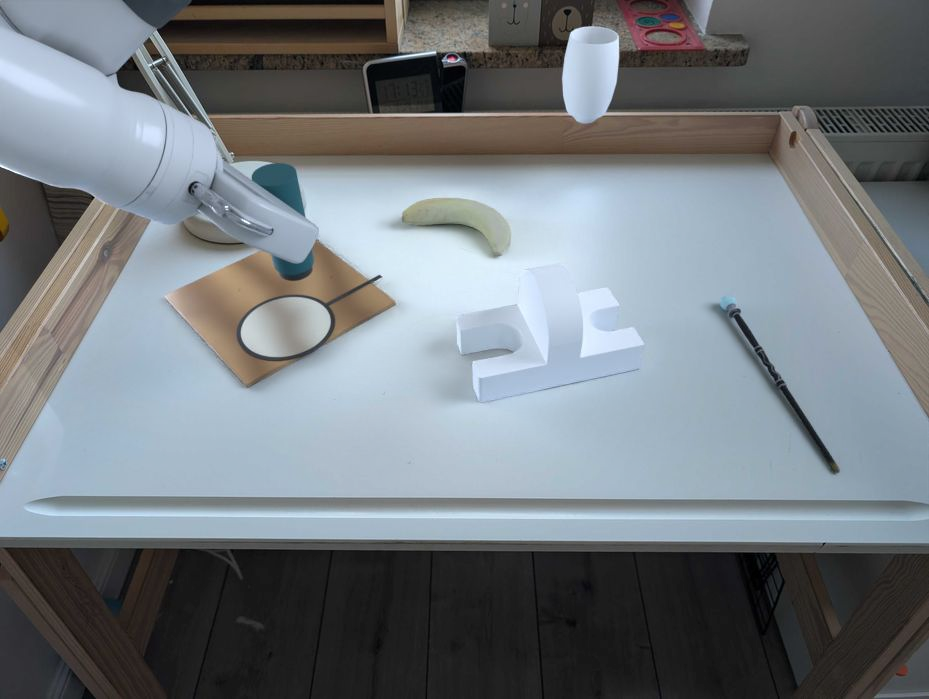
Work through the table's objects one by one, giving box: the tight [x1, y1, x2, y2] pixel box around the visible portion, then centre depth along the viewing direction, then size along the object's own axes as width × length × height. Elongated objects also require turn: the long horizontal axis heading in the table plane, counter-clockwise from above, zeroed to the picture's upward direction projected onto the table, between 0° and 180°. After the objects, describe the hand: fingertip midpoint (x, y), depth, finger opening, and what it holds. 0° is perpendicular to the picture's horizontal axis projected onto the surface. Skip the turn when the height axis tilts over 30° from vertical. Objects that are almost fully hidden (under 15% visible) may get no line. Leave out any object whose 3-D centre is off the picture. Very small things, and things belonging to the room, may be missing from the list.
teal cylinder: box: [250, 162, 314, 281], centre depth 68 cm, size 4×4×11 cm
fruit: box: [401, 197, 512, 257], centre depth 95 cm, size 7×15×3 cm, turn 62°
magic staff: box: [719, 294, 840, 474], centre depth 76 cm, size 2×25×2 cm
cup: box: [561, 25, 620, 124], centre depth 98 cm, size 7×7×21 cm
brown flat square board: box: [163, 239, 396, 389], centre depth 86 cm, size 22×21×1 cm
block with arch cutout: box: [455, 263, 646, 403], centre depth 75 cm, size 18×10×11 cm, turn 105°
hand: (289, 219), depth 68 cm, fingers closed on teal cylinder, 4 cm apart
